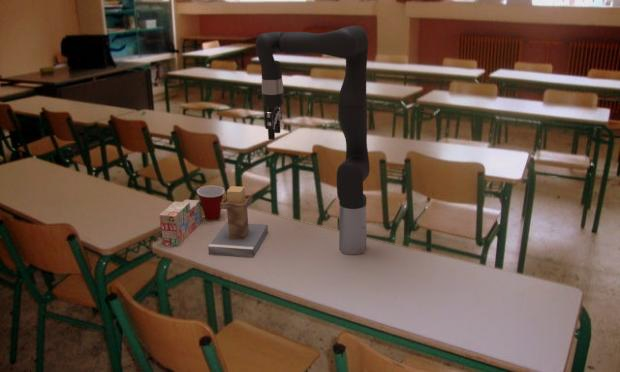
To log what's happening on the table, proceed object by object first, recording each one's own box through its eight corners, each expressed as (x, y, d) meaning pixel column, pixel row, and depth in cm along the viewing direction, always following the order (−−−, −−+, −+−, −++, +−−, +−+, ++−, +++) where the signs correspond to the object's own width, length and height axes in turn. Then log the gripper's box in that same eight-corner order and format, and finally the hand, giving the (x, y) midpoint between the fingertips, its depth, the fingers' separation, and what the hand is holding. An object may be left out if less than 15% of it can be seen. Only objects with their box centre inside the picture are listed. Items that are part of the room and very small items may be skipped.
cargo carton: (245, 199, 198) (244, 186, 196) (241, 205, 193) (240, 192, 192) (231, 199, 199) (230, 186, 197) (227, 204, 194) (226, 191, 192)
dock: (267, 231, 209) (267, 224, 208) (253, 257, 191) (252, 249, 190) (227, 229, 212) (226, 221, 211) (209, 254, 194) (208, 246, 193)
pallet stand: (254, 230, 204) (252, 194, 199) (247, 241, 196) (245, 204, 191) (230, 228, 206) (228, 193, 201) (223, 239, 197) (220, 203, 192)
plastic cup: (216, 225, 216) (213, 196, 211) (194, 220, 220) (191, 192, 216) (232, 214, 225) (230, 187, 220) (210, 210, 229) (207, 183, 225)
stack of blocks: (187, 220, 221) (184, 192, 216) (202, 221, 219) (199, 193, 215) (162, 245, 201) (158, 214, 197) (178, 246, 200) (175, 215, 195)
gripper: (278, 96, 187) (280, 142, 193) (287, 87, 200) (289, 131, 206) (256, 95, 189) (259, 141, 194) (267, 87, 202) (269, 130, 207)
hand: (274, 136), depth 200 cm, fingers open, 8 cm apart
